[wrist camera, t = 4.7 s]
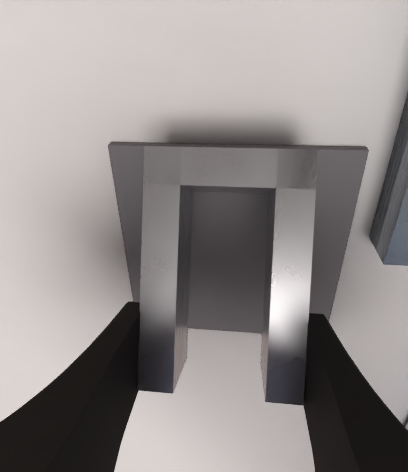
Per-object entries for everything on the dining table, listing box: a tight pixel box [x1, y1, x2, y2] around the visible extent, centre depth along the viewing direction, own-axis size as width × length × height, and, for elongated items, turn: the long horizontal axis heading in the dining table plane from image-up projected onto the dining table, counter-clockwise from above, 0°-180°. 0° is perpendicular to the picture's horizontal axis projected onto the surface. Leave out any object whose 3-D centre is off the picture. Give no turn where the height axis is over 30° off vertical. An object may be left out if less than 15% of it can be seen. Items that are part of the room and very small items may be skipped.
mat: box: [108, 142, 369, 333], centre depth 17 cm, size 10×10×1 cm
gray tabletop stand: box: [137, 146, 318, 405], centre depth 13 cm, size 8×5×3 cm
